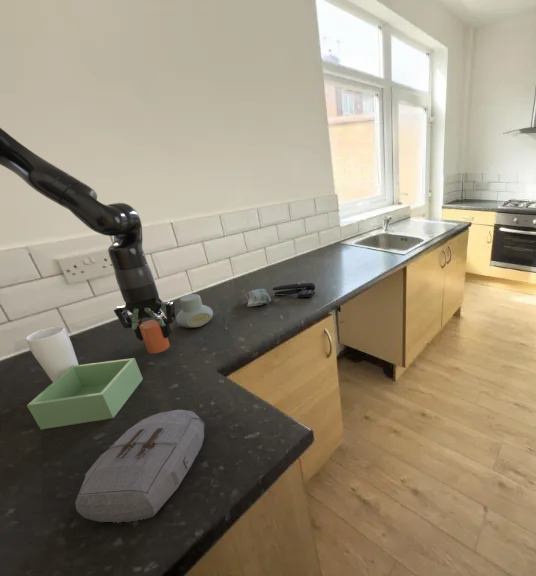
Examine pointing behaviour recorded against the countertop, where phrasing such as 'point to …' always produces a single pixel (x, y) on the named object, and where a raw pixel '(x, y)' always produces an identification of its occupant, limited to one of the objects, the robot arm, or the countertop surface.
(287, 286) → the can opener
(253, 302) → the packaged food
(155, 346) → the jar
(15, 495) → the countertop surface
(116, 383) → the box
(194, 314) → the air freshener
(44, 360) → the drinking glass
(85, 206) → the robot arm
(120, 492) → the small grey backpack
